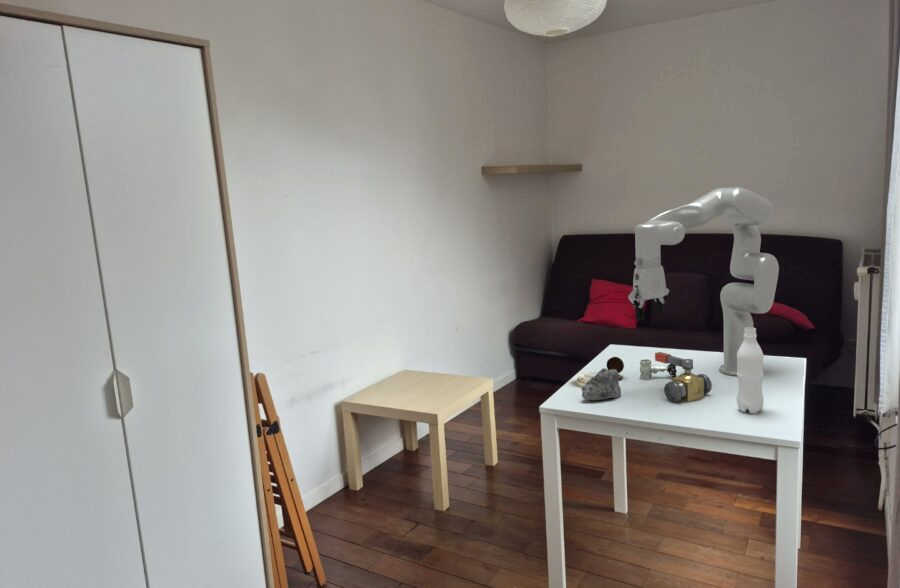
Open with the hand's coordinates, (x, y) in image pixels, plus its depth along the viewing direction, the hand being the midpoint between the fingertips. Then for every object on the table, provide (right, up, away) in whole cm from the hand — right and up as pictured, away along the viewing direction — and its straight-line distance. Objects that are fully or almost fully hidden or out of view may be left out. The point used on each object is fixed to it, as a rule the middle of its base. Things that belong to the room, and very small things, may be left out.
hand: (649, 317), depth 210 cm
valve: (+9, -22, +21) cm, 32 cm away
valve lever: (+9, -15, +3) cm, 18 cm away
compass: (-4, -23, +24) cm, 34 cm away
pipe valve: (+12, -26, -1) cm, 28 cm away
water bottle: (+25, -27, -16) cm, 40 cm away
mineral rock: (-14, -27, +5) cm, 31 cm away
